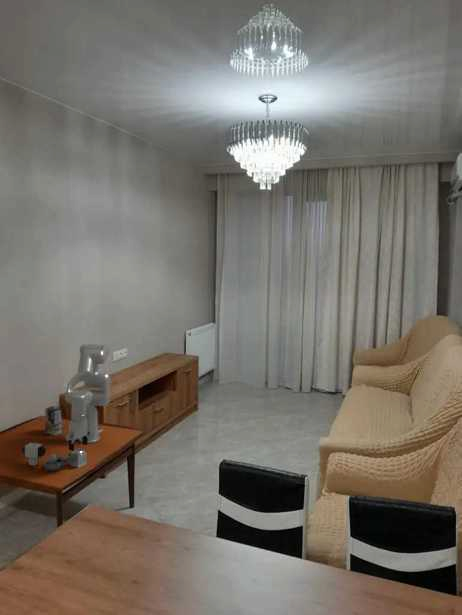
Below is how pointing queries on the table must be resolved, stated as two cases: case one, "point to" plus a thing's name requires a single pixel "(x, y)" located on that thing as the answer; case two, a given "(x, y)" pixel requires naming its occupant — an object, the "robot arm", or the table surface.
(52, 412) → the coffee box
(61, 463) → the ratchet
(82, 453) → the domed grey cube
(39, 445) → the pneumatic valve
